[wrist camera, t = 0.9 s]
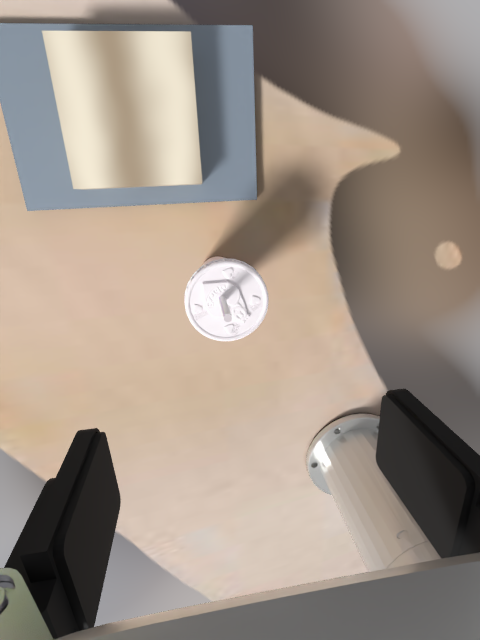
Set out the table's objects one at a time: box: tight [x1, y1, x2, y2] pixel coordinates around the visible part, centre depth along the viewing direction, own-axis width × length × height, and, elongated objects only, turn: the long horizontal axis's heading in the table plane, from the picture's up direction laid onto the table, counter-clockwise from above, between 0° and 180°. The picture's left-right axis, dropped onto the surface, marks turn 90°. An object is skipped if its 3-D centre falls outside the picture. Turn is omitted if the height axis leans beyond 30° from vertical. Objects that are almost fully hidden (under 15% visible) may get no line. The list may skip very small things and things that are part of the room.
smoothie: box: [185, 256, 268, 341], centre depth 28 cm, size 6×6×14 cm
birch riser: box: [42, 31, 202, 189], centre depth 27 cm, size 10×10×3 cm
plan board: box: [0, 23, 257, 211], centre depth 29 cm, size 20×13×1 cm, turn 92°
